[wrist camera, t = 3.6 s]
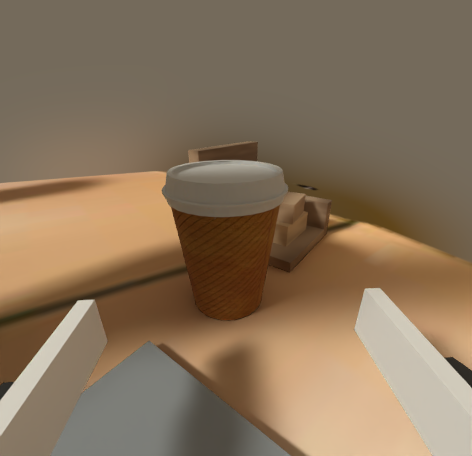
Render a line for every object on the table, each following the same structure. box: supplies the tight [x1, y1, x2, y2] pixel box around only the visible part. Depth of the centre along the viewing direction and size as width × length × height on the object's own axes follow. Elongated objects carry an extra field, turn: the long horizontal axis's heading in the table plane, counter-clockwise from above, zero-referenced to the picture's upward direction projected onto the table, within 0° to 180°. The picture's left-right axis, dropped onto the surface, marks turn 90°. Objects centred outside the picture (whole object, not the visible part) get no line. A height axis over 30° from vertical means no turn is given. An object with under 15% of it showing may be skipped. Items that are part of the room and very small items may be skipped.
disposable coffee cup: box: [162, 160, 288, 320], centre depth 21 cm, size 10×10×12 cm
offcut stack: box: [273, 192, 308, 246], centre depth 33 cm, size 8×6×5 cm
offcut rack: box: [188, 141, 332, 272], centre depth 32 cm, size 14×13×12 cm
